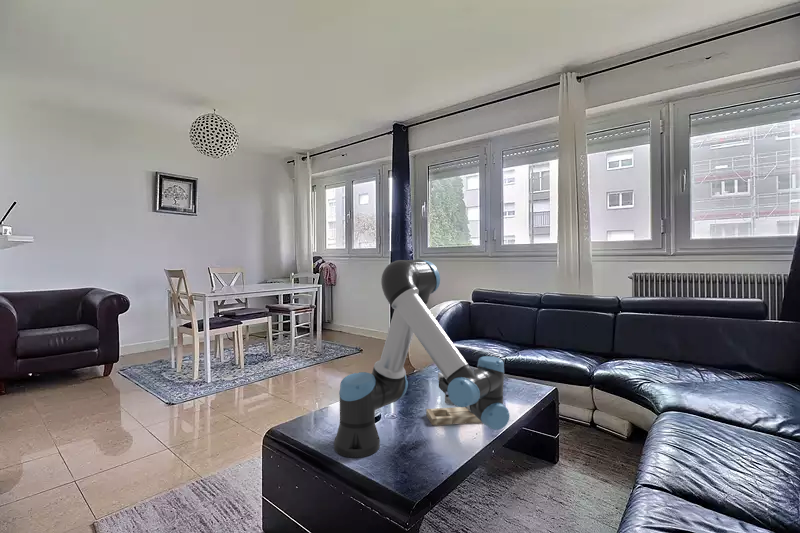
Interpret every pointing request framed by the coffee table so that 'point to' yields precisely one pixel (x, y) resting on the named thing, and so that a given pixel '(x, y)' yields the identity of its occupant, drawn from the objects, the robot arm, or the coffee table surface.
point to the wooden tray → (451, 416)
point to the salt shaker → (447, 400)
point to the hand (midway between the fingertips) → (444, 375)
